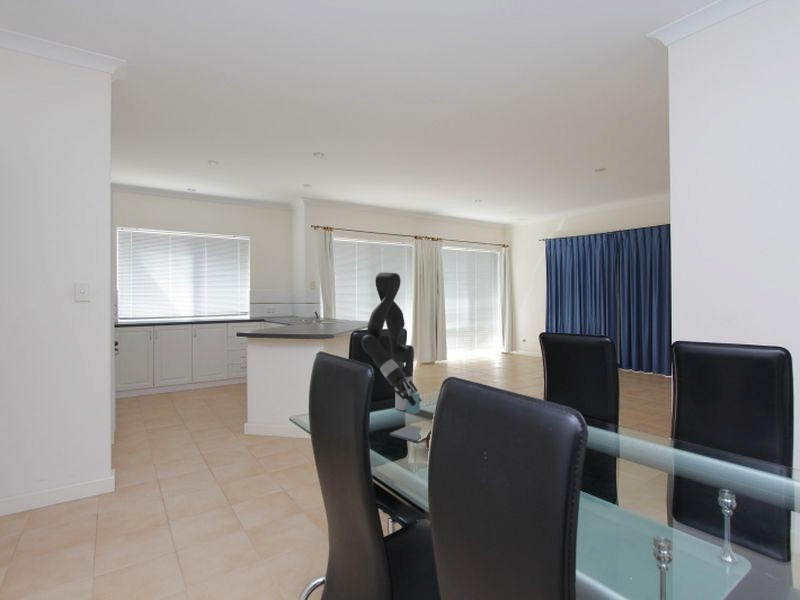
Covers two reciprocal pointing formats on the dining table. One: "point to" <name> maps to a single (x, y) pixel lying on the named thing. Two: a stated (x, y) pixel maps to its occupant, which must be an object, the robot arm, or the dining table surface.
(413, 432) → the mat
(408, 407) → the block
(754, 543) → the dining table surface
